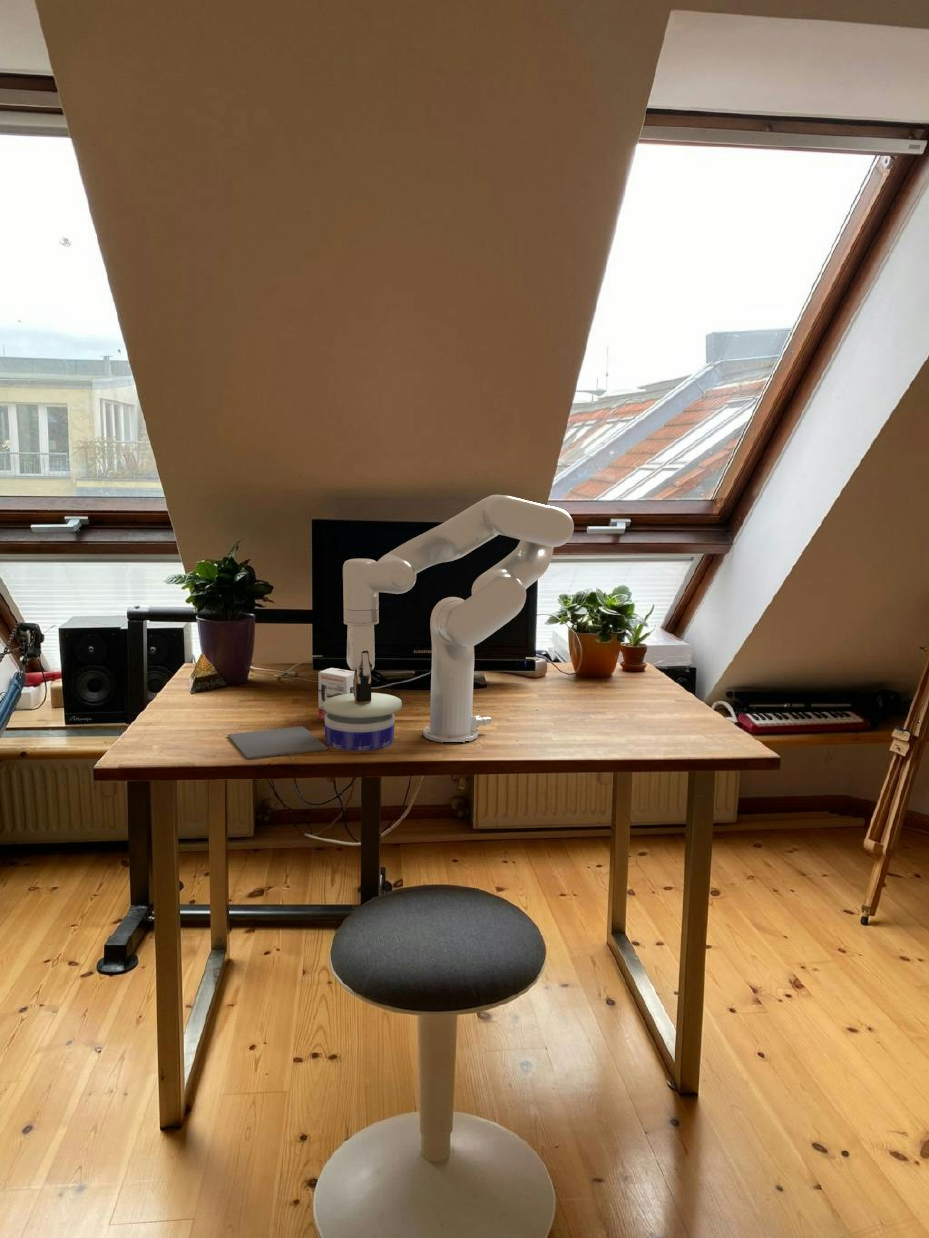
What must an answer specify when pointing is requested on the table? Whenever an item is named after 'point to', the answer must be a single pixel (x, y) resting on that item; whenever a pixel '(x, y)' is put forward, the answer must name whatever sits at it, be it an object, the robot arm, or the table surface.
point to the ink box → (333, 685)
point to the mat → (276, 742)
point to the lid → (362, 705)
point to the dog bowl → (359, 732)
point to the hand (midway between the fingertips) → (362, 697)
